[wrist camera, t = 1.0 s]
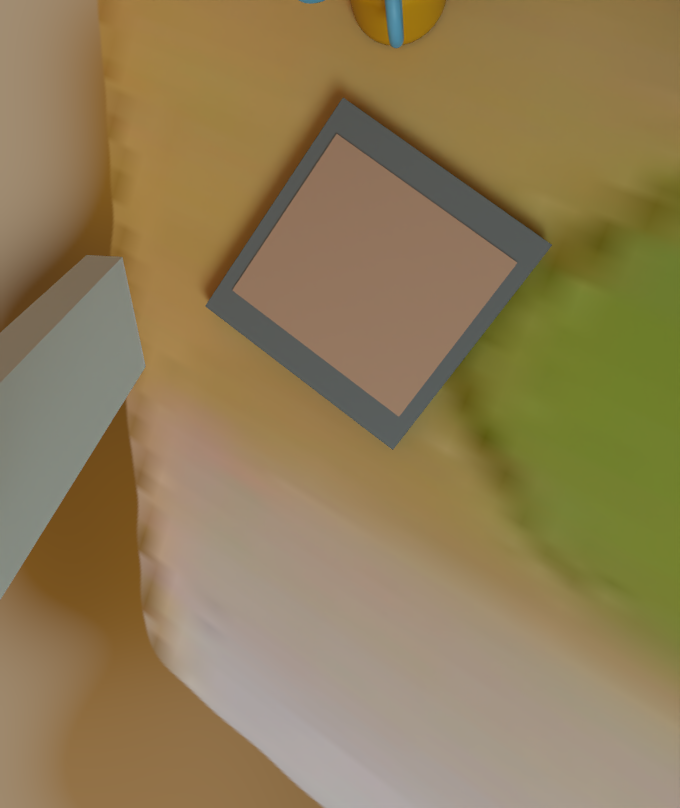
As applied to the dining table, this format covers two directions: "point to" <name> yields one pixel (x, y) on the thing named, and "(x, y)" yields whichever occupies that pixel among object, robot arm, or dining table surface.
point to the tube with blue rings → (395, 18)
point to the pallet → (374, 273)
